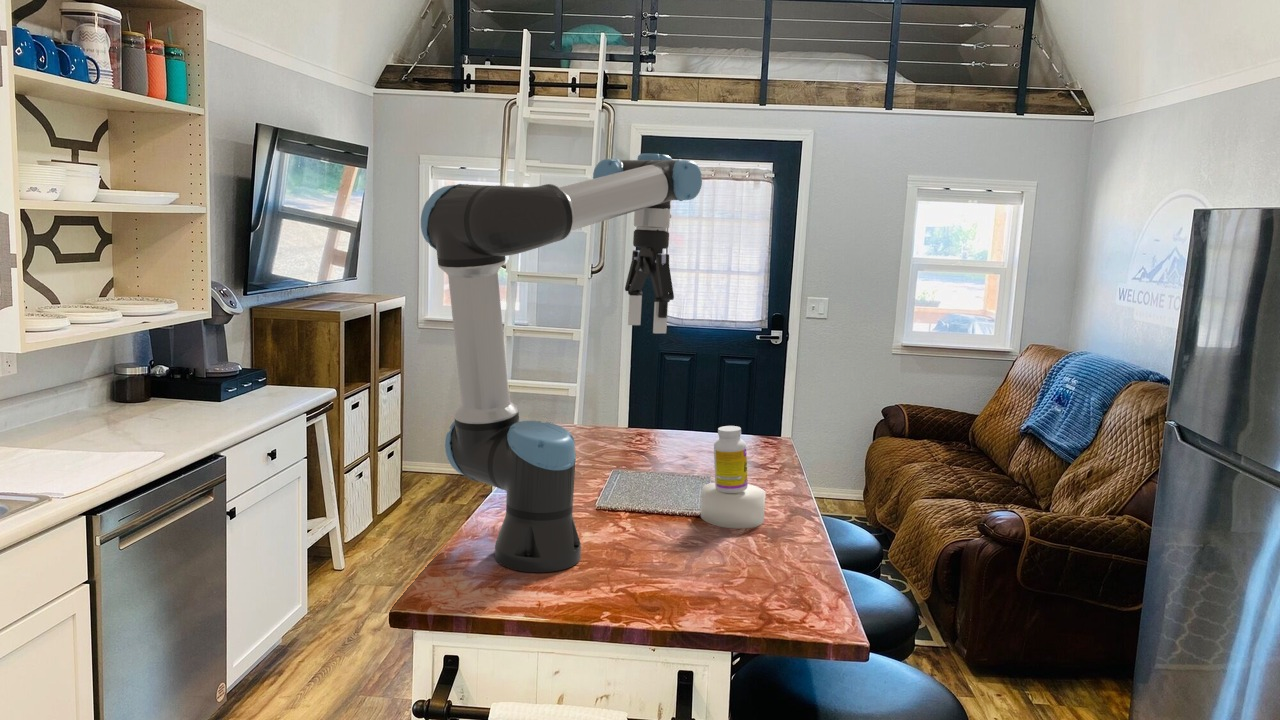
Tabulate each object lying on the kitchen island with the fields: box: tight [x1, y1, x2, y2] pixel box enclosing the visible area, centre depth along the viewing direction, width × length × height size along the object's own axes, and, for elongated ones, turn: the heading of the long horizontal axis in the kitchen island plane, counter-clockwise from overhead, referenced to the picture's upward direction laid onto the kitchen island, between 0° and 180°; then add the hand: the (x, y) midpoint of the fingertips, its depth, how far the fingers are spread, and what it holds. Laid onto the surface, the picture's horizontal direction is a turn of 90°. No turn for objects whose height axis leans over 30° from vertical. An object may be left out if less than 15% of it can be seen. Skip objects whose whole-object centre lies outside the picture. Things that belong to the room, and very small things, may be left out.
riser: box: [700, 481, 767, 530], centre depth 189 cm, size 13×13×6 cm
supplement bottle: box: [713, 425, 749, 493], centre depth 187 cm, size 7×7×13 cm
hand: (646, 329), depth 197 cm, fingers open, 13 cm apart
